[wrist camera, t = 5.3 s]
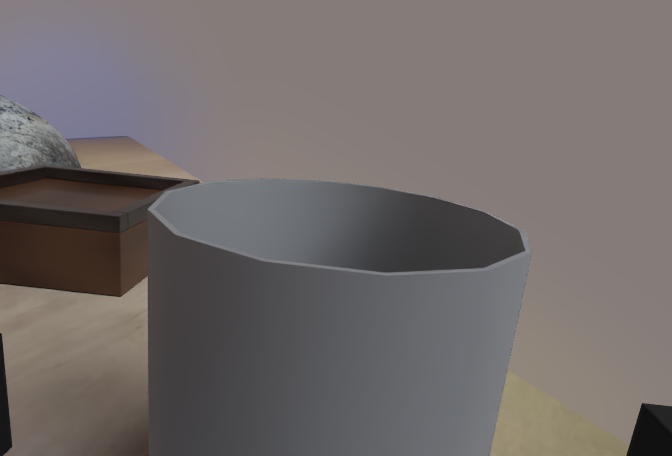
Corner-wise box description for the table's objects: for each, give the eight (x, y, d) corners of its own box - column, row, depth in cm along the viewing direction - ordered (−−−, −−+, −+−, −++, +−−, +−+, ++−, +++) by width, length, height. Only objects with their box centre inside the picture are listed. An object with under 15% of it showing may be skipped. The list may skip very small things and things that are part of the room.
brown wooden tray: (198, 235, 42) (199, 180, 41) (121, 296, 28) (119, 216, 27) (45, 219, 42) (41, 164, 41) (-104, 271, 29) (-116, 191, 27)
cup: (151, 818, 8) (149, 287, 6) (148, 473, 16) (146, 174, 13) (524, 650, 11) (628, 263, 9) (375, 430, 19) (409, 183, 16)
